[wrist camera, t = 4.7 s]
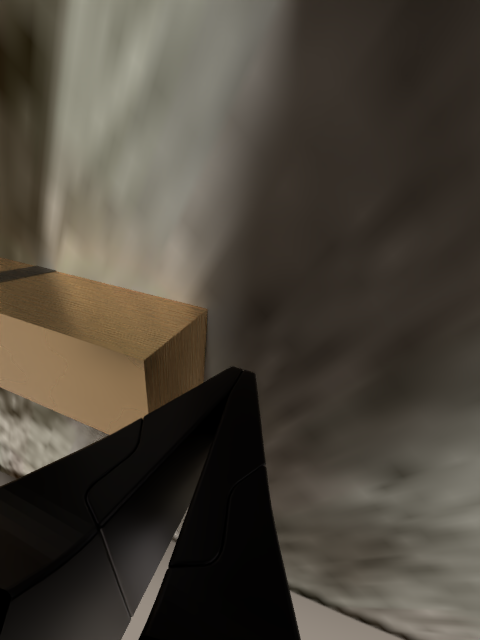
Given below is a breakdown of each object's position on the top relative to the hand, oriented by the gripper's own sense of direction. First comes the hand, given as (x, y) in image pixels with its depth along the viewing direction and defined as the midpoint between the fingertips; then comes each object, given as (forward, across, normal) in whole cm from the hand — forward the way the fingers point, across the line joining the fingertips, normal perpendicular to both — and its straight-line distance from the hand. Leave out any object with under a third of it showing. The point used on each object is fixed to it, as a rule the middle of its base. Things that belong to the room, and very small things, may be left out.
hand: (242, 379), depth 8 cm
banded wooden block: (+1, +10, 0) cm, 10 cm away
